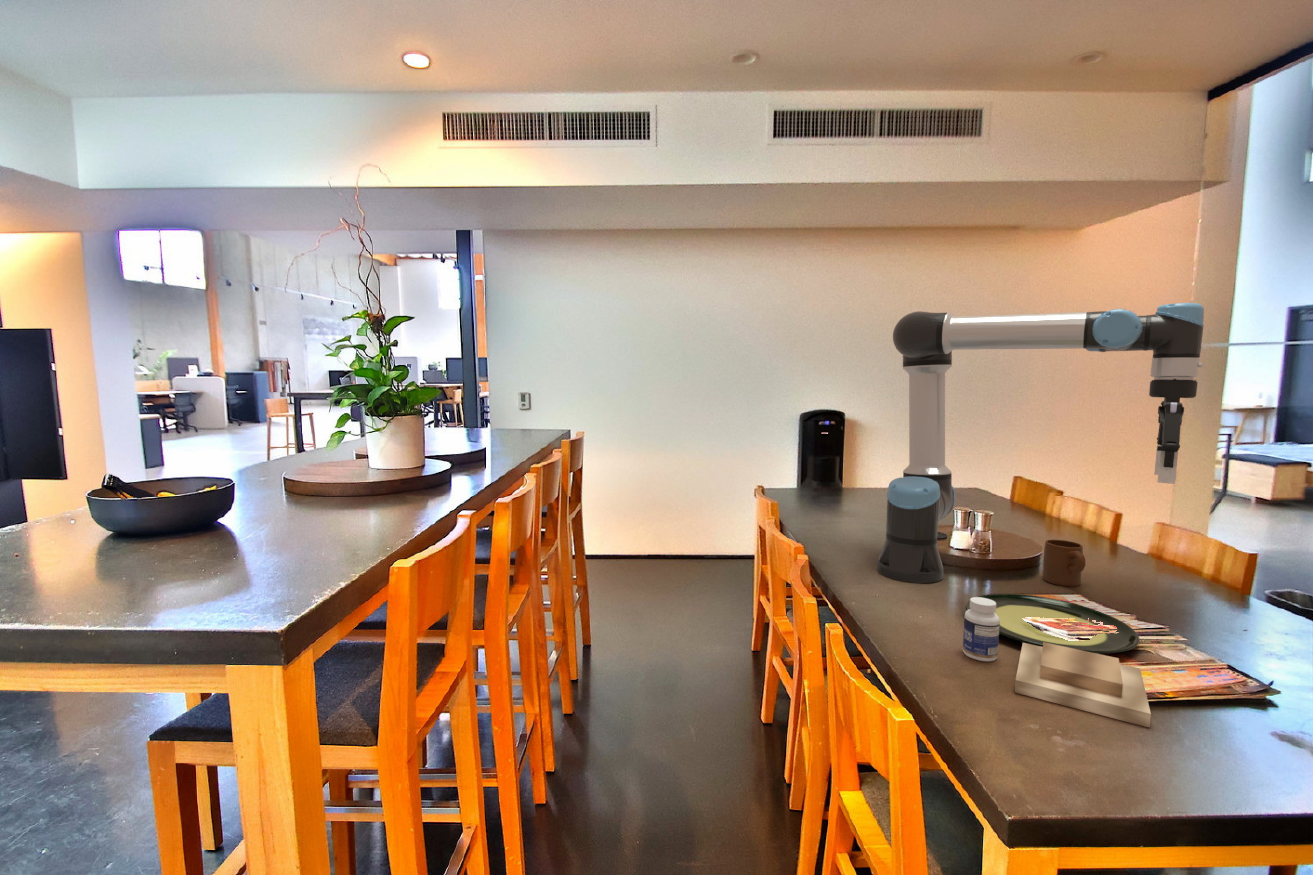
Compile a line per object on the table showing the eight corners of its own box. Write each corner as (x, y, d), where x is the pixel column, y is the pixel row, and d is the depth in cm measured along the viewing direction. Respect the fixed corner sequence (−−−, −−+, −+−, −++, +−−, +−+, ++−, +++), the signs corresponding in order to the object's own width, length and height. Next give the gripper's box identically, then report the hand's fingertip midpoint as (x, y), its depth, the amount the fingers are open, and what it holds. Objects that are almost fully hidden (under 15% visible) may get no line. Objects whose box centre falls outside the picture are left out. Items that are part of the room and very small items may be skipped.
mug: (1099, 594, 133) (1102, 553, 132) (1062, 593, 134) (1065, 552, 133) (1069, 577, 145) (1072, 539, 144) (1036, 575, 146) (1038, 538, 145)
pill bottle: (960, 646, 107) (963, 593, 106) (994, 651, 105) (997, 597, 104) (964, 659, 102) (968, 604, 101) (1000, 664, 100) (1003, 608, 99)
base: (1014, 692, 91) (1016, 667, 91) (1022, 653, 104) (1023, 631, 104) (1149, 727, 82) (1152, 699, 81) (1139, 680, 95) (1141, 656, 94)
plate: (1084, 679, 96) (1085, 664, 96) (933, 617, 120) (934, 605, 120) (1169, 644, 109) (1170, 631, 108) (1017, 595, 133) (1018, 584, 133)
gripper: (1204, 378, 112) (1193, 489, 114) (1191, 379, 132) (1182, 473, 134) (1153, 378, 117) (1143, 484, 119) (1148, 379, 136) (1139, 470, 139)
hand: (1164, 479), depth 126 cm, fingers open, 13 cm apart
